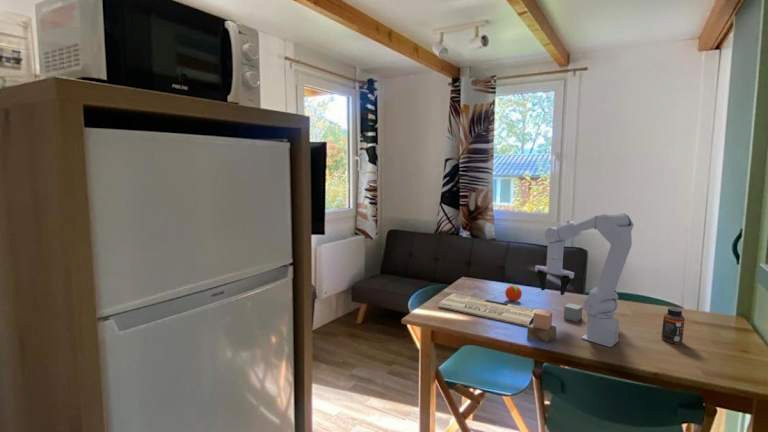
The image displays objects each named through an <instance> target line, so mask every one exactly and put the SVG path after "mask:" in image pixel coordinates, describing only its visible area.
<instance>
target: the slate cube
mask: <svg viewBox="0 0 768 432" xmlns="http://www.w3.org/2000/svg"><path fill="white" fill-rule="evenodd" d="M563 307H564V309H563V319H566V320H569V321H573V322H579V321H580V320H582V318H583V309H584V306H583V305H578V304H574V303H571V302H570V303H569V302H568V304H566V305H564V306H563Z"/></svg>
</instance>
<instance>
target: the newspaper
mask: <svg viewBox="0 0 768 432" xmlns="http://www.w3.org/2000/svg"><path fill="white" fill-rule="evenodd" d="M437 307H438V308H441V309H444V310H445V309H446V310H449V311H454V312H460V313H464V314H469V315H473V316H478V317H482V318H487V319H492V320H496V321H500V322H504V323H510V324H514V325H519V326H524V327H528V326H529V325H530V322H531V321H532V319H534V312H535V311H536V310H537V309H538V308H537V309H536V308H530V307H527V306H526V307H525V306H521V305H515V304H512V303H511V304H510V303H505V302H500V301H495V300H491V299H490V300H489V299H484V298H479V297H473V296H469V295H464V294H460V293H452V294H450V295H448V296H447V297H445V298H444V299H442V300H441V301H440V302H439V303H438V305H437Z"/></svg>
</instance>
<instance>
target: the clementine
mask: <svg viewBox="0 0 768 432" xmlns="http://www.w3.org/2000/svg"><path fill="white" fill-rule="evenodd" d="M504 293H505V297H506V299H507V300H509V301H510V302H518V301H519V300H521V298H522V296H523V295H522V294H523V293H522V290H521V289H520V287H519V286H517V285H510V286H509V285H508V287H507V288H506V290H505V291H504Z"/></svg>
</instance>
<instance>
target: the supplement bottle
mask: <svg viewBox="0 0 768 432" xmlns="http://www.w3.org/2000/svg"><path fill="white" fill-rule="evenodd" d="M682 314H683V310H682V309H681V308H677V307H672V306H671V307H667V312H666V313H664V315H663V321H662V329H661V330H662V331H661V339H662V340H663V341H665V342H667V343H670V344H675V343H679V344H681V343H683V340H684V339H683V338H684V330H685V320H686V319H685V317H684V316H683V315H682Z"/></svg>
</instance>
